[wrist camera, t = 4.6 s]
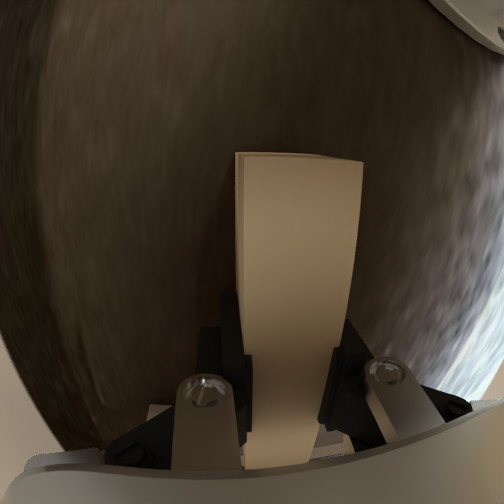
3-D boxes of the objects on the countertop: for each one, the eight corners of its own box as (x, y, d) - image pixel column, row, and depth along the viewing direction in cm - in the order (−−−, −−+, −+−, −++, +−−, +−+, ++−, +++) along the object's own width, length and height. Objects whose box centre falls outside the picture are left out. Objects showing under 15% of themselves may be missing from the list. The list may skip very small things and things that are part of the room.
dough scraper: (105, 159, 9) (41, 173, 5) (416, 164, 10) (492, 181, 6) (153, 416, 13) (143, 481, 9) (364, 400, 14) (392, 456, 10)
